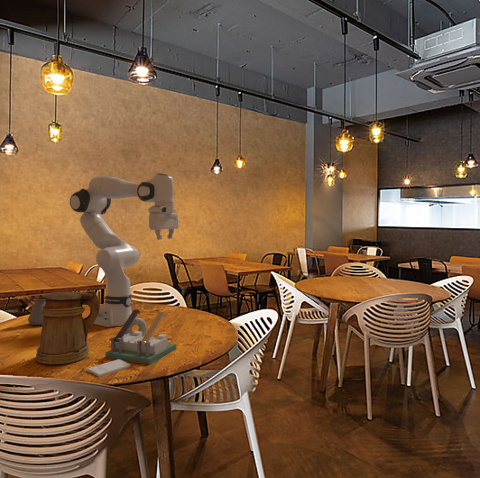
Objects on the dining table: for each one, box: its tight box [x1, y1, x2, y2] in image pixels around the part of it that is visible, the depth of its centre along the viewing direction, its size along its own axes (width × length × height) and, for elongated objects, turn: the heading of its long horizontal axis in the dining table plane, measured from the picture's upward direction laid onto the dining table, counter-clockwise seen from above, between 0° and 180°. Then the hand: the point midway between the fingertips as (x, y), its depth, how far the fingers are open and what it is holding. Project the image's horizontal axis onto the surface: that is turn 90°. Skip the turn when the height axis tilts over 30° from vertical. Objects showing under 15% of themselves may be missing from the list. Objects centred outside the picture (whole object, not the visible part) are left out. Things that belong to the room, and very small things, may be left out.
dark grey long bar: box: [114, 309, 141, 342], centre depth 163 cm, size 2×16×2 cm
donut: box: [124, 316, 148, 337], centre depth 179 cm, size 10×4×10 cm, turn 115°
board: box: [105, 330, 177, 365], centre depth 162 cm, size 20×19×8 cm
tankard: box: [35, 289, 101, 365], centre depth 158 cm, size 18×24×25 cm
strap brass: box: [140, 311, 166, 346], centre depth 158 cm, size 2×16×2 cm
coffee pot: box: [27, 291, 73, 326], centre depth 208 cm, size 21×12×15 cm, turn 126°
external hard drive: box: [86, 359, 131, 378], centre depth 145 cm, size 2×8×12 cm
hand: (164, 239), depth 189 cm, fingers open, 8 cm apart
